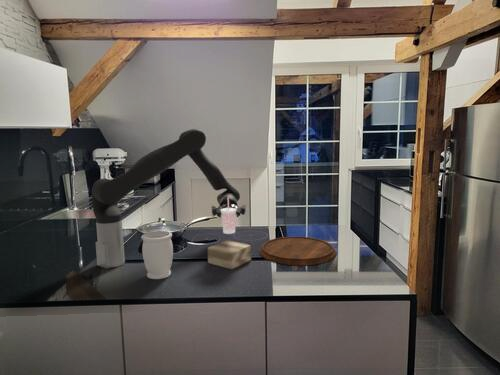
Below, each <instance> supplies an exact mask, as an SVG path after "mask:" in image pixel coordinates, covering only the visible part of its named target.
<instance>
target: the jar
mask: <svg viewBox="0 0 500 375" xmlns="http://www.w3.org/2000/svg"><path fill="white" fill-rule="evenodd" d="M172 237H173V233H172V232H171V231H167V230H156V231H155V230H154V231H150V232H145V233H143V234H142V235H141V240H142V241H143V242H142V248H141V249H142V258H143V261H144V262H143V263H144V267H145V269H146V271H147V273H146V277H147V278H148V279H152V280H162V279H165V278H167V277H170V276H171V274H172V271H171V267H172V264H173V258H174V247H173V241H172Z"/></svg>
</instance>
